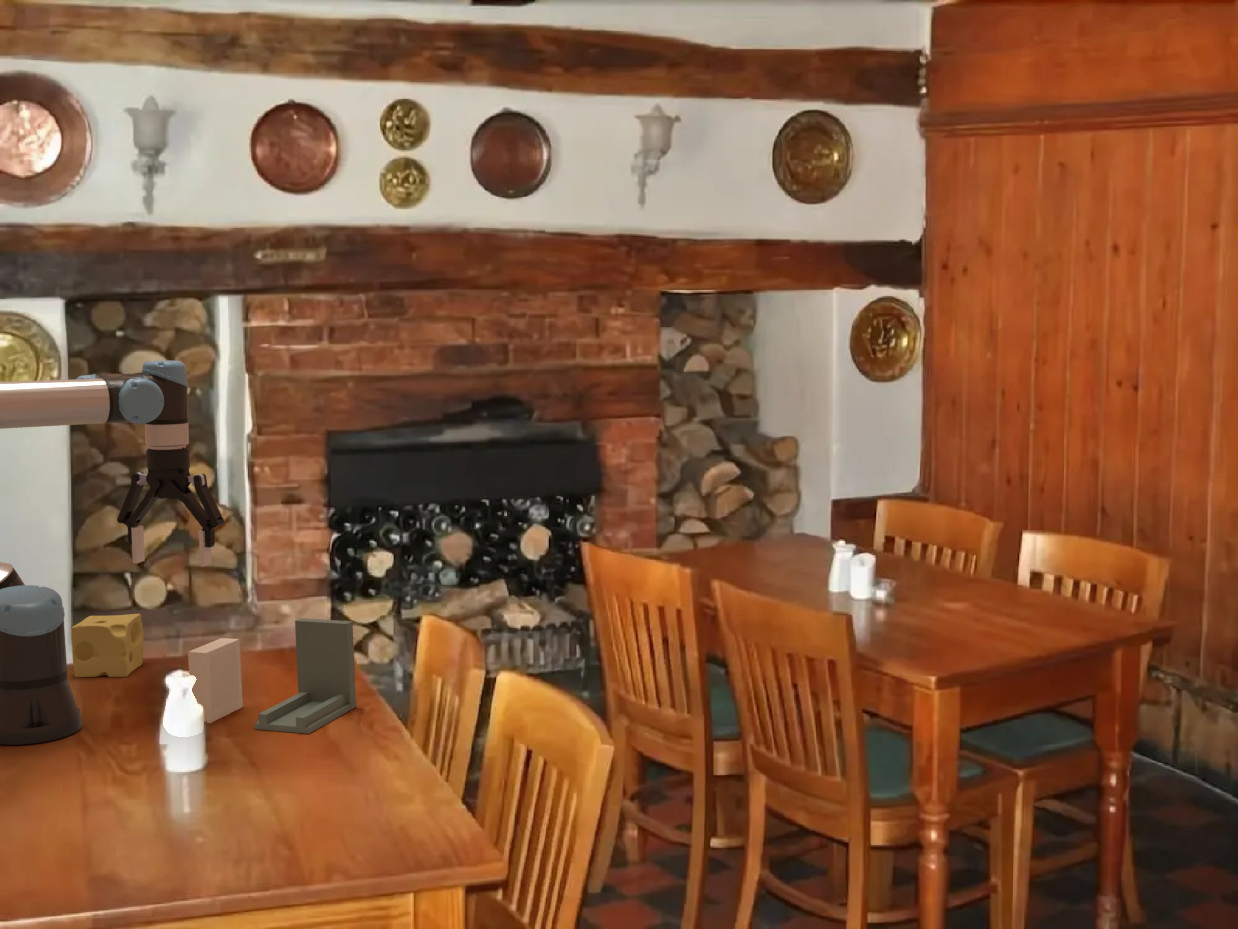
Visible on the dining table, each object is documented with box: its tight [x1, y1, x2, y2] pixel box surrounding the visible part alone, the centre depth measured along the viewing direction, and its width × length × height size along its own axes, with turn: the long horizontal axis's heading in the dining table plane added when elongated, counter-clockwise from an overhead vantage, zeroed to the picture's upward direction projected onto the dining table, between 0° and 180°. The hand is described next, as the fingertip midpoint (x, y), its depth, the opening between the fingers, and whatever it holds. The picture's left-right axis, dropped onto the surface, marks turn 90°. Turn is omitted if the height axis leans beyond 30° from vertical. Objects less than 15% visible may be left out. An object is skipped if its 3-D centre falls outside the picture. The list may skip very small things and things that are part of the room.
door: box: [187, 637, 244, 724], centre depth 262 cm, size 10×4×12 cm, turn 161°
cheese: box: [70, 613, 144, 678], centre depth 293 cm, size 10×11×10 cm
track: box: [254, 617, 357, 735], centre depth 258 cm, size 16×10×15 cm, turn 161°
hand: (172, 563), depth 279 cm, fingers open, 13 cm apart
